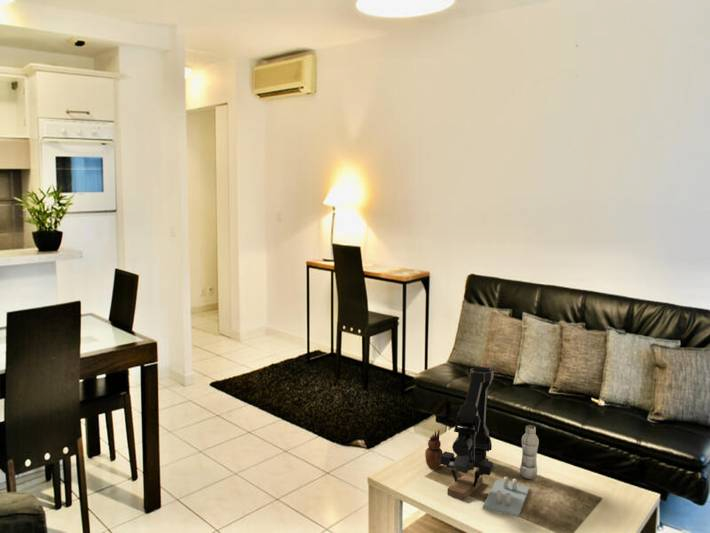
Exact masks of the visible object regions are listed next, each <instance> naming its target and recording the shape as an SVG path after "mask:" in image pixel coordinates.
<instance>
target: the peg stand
mask: <svg viewBox="0 0 710 533" xmlns="http://www.w3.org/2000/svg"><path fill="white" fill-rule="evenodd" d="M493 483H494V484H493V486H492V487H491V489H490V491H489V493H488V495H487V497H486V499H485V501H484V503H483V504H482V509H483V510H488V511H491V512H496V513H500V514H503V515H507V516H511V517H514V518H519V516H520V514H521V511H522V510H523V507H524V504H525V501H526V500H527V496H528V494H529V491H530V487H528V486H524V485H520V484H518V479H516V478H513V479H512V483H511V482H509V477H508V476H504V477H503V480H498V479H496V480H495V482H493Z"/></svg>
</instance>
